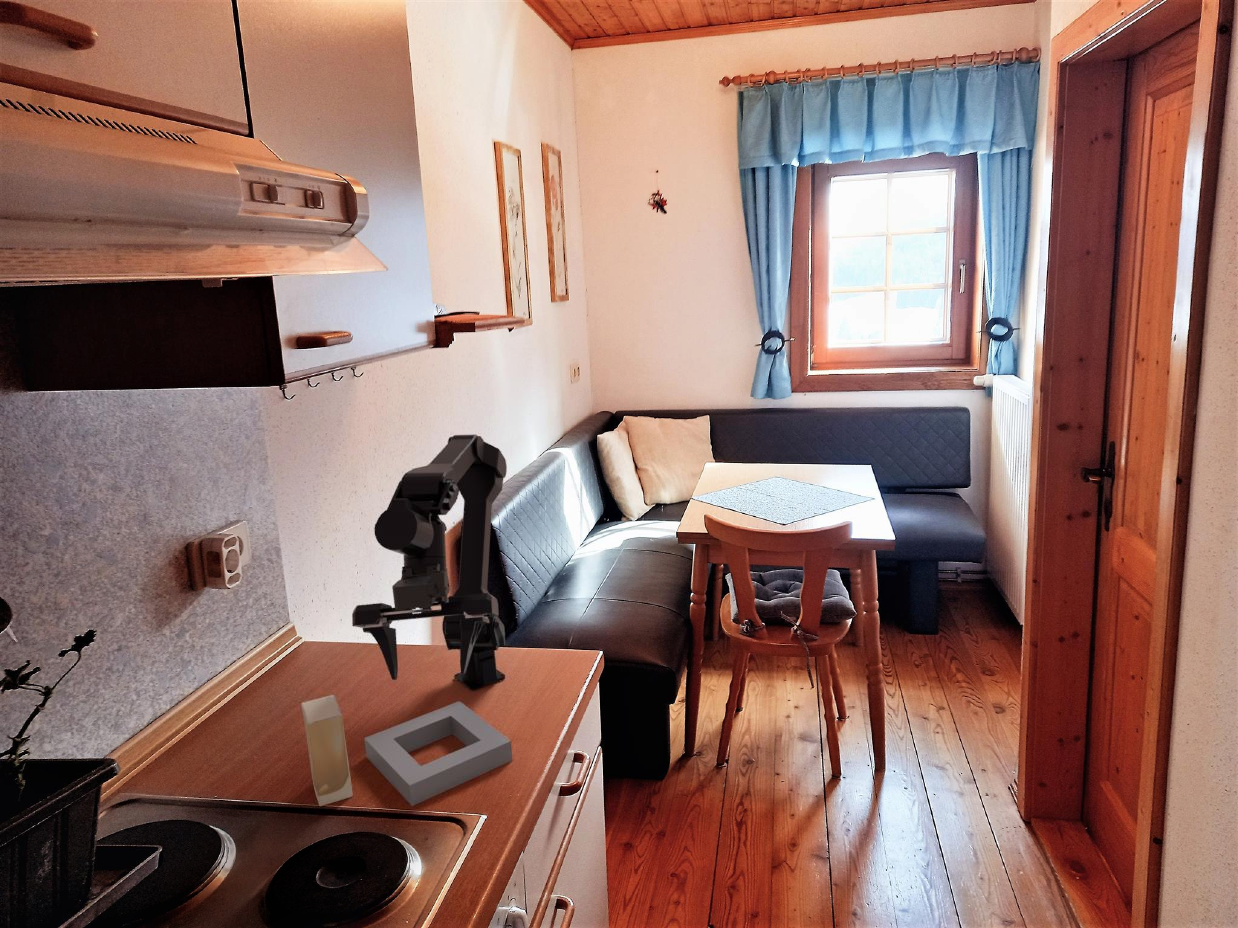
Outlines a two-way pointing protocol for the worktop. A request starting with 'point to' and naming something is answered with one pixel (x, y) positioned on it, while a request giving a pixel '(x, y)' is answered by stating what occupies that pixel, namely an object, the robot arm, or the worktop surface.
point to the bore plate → (447, 771)
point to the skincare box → (327, 750)
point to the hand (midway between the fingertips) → (428, 676)
